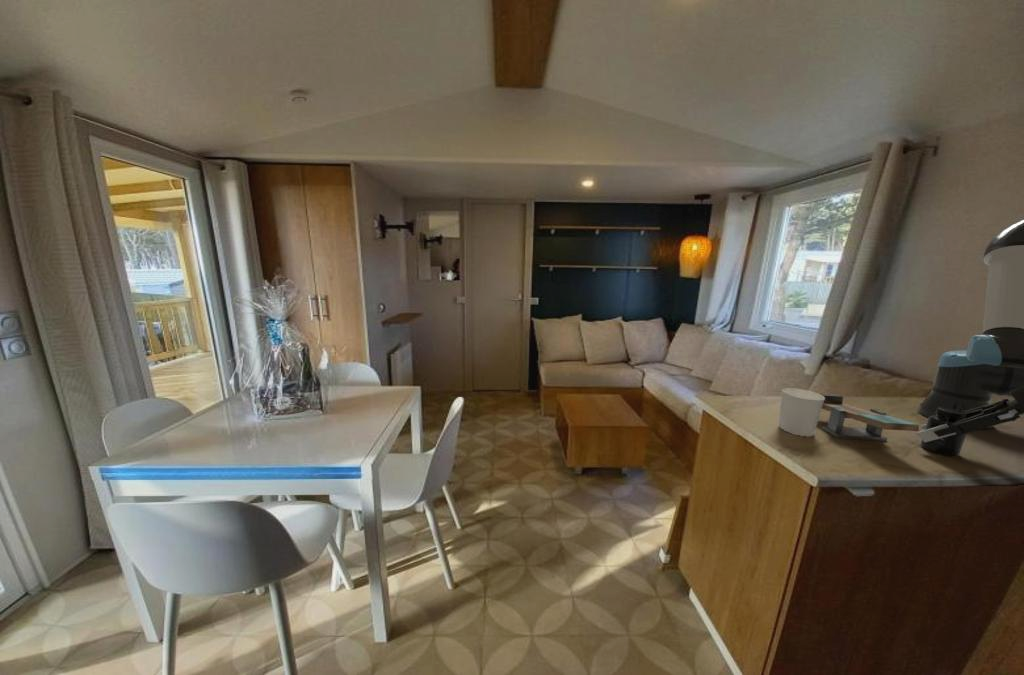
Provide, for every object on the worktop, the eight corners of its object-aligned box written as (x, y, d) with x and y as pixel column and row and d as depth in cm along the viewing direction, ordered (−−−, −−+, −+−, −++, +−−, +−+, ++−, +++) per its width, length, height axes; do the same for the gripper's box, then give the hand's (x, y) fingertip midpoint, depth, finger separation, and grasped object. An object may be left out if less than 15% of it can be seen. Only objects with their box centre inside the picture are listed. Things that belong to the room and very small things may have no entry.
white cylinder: (817, 430, 103) (825, 393, 101) (816, 441, 96) (824, 402, 94) (777, 420, 110) (783, 385, 107) (774, 430, 102) (780, 393, 100)
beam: (836, 408, 111) (838, 394, 111) (919, 433, 86) (921, 416, 86) (808, 406, 112) (809, 392, 112) (882, 431, 87) (884, 414, 87)
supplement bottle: (922, 450, 92) (933, 410, 89) (917, 441, 96) (928, 402, 94) (963, 460, 87) (976, 417, 85) (956, 450, 92) (968, 409, 90)
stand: (867, 431, 102) (873, 407, 101) (886, 441, 97) (893, 415, 95) (821, 428, 104) (826, 404, 102) (837, 438, 98) (843, 412, 96)
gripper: (1070, 423, 70) (929, 457, 87) (1064, 403, 81) (940, 436, 98) (1032, 392, 74) (904, 430, 90) (1031, 376, 84) (916, 413, 101)
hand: (923, 433), depth 94 cm, fingers open, 7 cm apart
